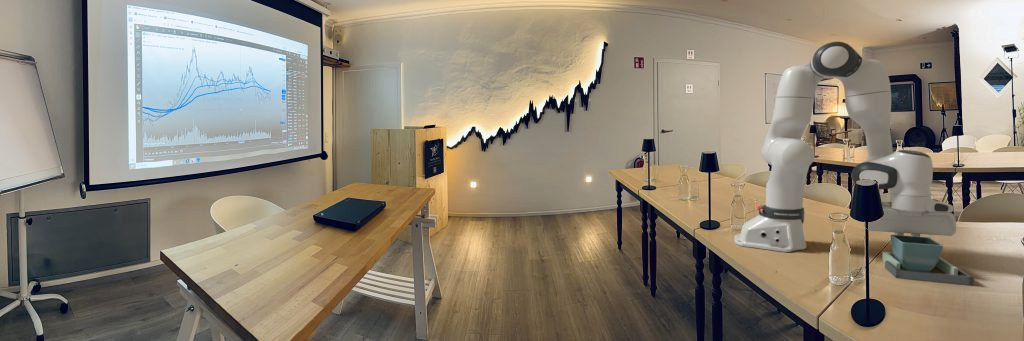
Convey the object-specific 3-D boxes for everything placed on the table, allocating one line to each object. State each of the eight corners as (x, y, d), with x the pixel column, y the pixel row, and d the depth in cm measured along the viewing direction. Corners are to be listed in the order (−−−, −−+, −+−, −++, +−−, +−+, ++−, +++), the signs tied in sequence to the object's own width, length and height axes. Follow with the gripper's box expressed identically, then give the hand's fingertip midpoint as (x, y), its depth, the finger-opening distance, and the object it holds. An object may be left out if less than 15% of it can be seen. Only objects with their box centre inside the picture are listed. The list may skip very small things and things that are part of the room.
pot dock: (896, 278, 111) (896, 270, 110) (884, 268, 118) (885, 260, 118) (972, 286, 104) (973, 277, 103) (955, 275, 111) (956, 266, 111)
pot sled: (896, 273, 114) (897, 253, 113) (879, 258, 125) (880, 240, 124) (957, 278, 108) (959, 257, 107) (934, 263, 119) (935, 244, 119)
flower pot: (926, 265, 118) (929, 236, 117) (941, 276, 111) (944, 245, 110) (888, 262, 123) (889, 234, 121) (899, 272, 115) (901, 242, 114)
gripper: (869, 203, 123) (866, 246, 124) (961, 207, 113) (957, 253, 115) (862, 199, 128) (859, 240, 130) (949, 202, 119) (945, 246, 121)
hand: (906, 246), depth 122 cm, fingers closed
